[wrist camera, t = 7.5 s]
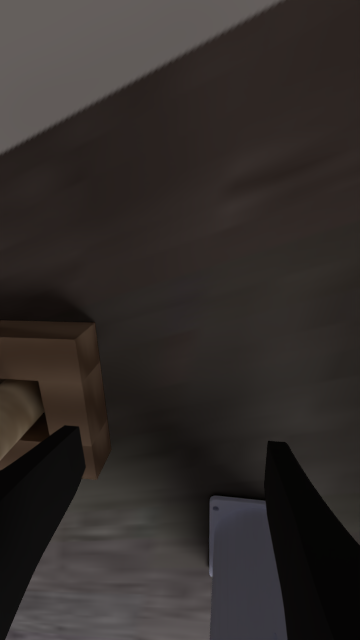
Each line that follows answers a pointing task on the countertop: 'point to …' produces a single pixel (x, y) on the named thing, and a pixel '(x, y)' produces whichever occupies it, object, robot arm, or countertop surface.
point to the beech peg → (18, 410)
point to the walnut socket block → (59, 384)
